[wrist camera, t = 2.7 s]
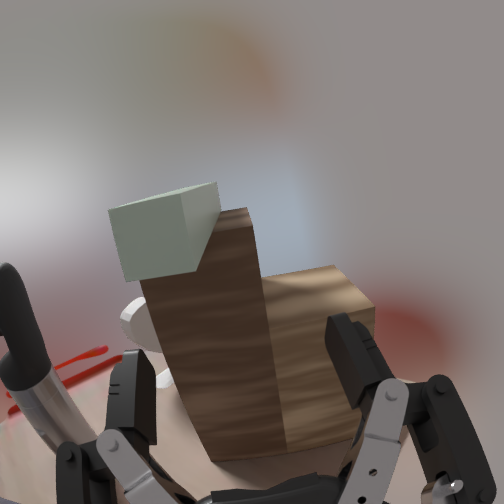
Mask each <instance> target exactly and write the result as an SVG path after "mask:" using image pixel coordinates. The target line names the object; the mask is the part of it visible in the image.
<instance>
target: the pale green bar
mask: <svg viewBox="0 0 504 504" xmlns="http://www.w3.org/2000/svg"><path fill="white" fill-rule="evenodd" d="M108 212H109V217H110V221H111V226H112V230H113V235H114V239H115V243H116V246H117V251H118V255H119V259H120V262H121V266H122V270H123V273H124V277H125V280H126V282H131V281H137V280H144V279H150V278H157V277H163V276H169V275H175V274H182V273H188V272H194V271H196V270H197V267H198V265H199V262H200V260H201V257H202V255H203V253H204V250H205V248H206V245H207V243H208V240H209V238H210V236H211V233H212V231H213V228H214V226H215V224H216V221H217V219H218V217H219V214H220V212H221V205H220V199H219V194H218V188H217V182H211V183H206V184H201V185H196V186H191V187H186V188H182V189H178V190H174V191H171V192H167V193H163V194H160V195H156V196H152V197H149V198H146V199H142V200H138V201H135V202H132V203H128V204H125V205H122V206H118V207H115V208H112V209H109V210H108Z"/></svg>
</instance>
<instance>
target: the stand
mask: <svg viewBox="0 0 504 504" xmlns="http://www.w3.org/2000/svg"><path fill="white" fill-rule="evenodd" d="M139 281H140V284H141V288H142V291H143V294H144V298H145V301H146V304H147V307H148V311H149V314H150V317H151V320H152V323H153V326H154V329H155V332H156V335H157V338H158V340H159V343H160V346H161V349H162V352H163V354H164V357H165V360H166V362H167V365H168V367H169V370H170V373H171V375H172V378H173V380H174V382H175V385H176V387H177V390H178V392H179V395H180V397H181V399H182V401H183V404H184V406H185V408H186V411H187V413H188V415H189V417H190V419H191V422H192V424H193V426H194V428H195V430H196V432H197V434H198V436H199V438H200V440H201V442H202V444H203V446H204V448H205V450H206V452H207V454H208V456H209V458H210V460H211V462H216V461H231V460H242V459H252V458H260V457H267V456H274V455H281V454H287V453H292V452H297V451H302V450H307V449H312V448H316V447H321V446H325V445H329V444H333V443H337V442H341V441H344V440H348V439H351V438H353V437H354V434H355V431H356V429H357V426H358V423H359V420H360V417H361V414H362V413H361V410H360V408H356V409H354V410H352V409H351V406H350V404H349V401H348V399H347V397H346V394H345V392H344V389H343V387H342V385H341V382H340V380H339V377H338V375H337V373H336V370H335V368H334V366H333V363H332V361H331V359H330V356H329V354H328V352H327V349H326V346H325V339H324V337H325V331H326V324H327V318H328V316H330V315H334V314H338V313H342V312H346V313H347V315H348V316H349V318H350V320H351V322H356V321H359V322H360V323H362V324H363V325H364V326H365V327H366V328H367V329H368V330H369V332H370V334H371V336H372V337H373V340H374V324H375V306H374V305H373V304H372V303H371V302H370V301H369V300H368V299H367V298H366V296H365V295H364V294H362V293H361V291H360V290H358V289H357V287H356V286H354V284H353V283H351V282H350V280H349V279H347V278H346V277H345V276H344V275H343V274H342V273H341V272H340V271H339V270H338V269H337V268H336V267H335V266H334V265H330V266H325V267H320V268H314V269H308V270H303V271H297V272H292V273H286V274H280V275H274V276H268V277H262V278H261V275H260V268H259V262H258V255H257V249H256V242H255V236H254V230H253V225H252V222H251V218H250V216H249V212H248V210H247V207H246V208H239V209H233V210H228V211H222V212H220V214H219V217H218V219H217V221H216V224H215V226H214V228H213V231H212V233H211V236H210V238H209V240H208V243H207V245H206V248H205V250H204V253H203V255H202V257H201V260H200V262H199V265H198V267H197V270H196V271H194V272H188V273H182V274H175V275H169V276H163V277H157V278H150V279H144V280H139Z"/></svg>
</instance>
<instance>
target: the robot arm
mask: <svg viewBox="0 0 504 504" xmlns="http://www.w3.org/2000/svg"><path fill="white" fill-rule="evenodd" d="M0 336H4V338H5V340H6V343H7V346H8V348H9V352H7V353H6V354H5V355H4V357H3V358H2V359H1V361H0V378H1V380H2V382H3V383H4V385H5V387H6V388H7V390H8V391H9V393H10V394H11V396H12V398H13V399H14V401H15V402H16V404H17V405H18V407H19V408H20V410H21V411H22V413H23V414H24V415H25V417H26V418H27V420H28V421H29V422H30V424H31V425H32V426H33V428H34V429H35V430H36V432H37V433H38V434H39V436H40V437H41V438H42V439H43V441H44V442H45V443H46V444H47V446H48V447H49V448H50V449H51V450H52V451H53V452H54V454H55V455H56V495H57V504H117V498H116V489H115V478H116V479H117V480H118V481H119V483H120V484H121V485H122V487H123V488H124V490H125V492H124V495H125V497H126V499H127V500H128V501H129V503H130V504H389V503H387V502H385V501H383V500H384V497H385V494H386V492H387V489H388V486H389V484H390V480H391V478H392V475H393V472H394V469H395V466H396V462H397V459H398V456H399V452H400V448H401V443H400V442H399V436H400V432H401V429H402V425H407V427H408V430H409V432H410V435H411V437H412V440H413V443H414V446H415V448H416V451H417V454H418V456H419V459H420V462H421V465H422V468H423V471H424V474H425V477H426V480H427V483H428V484H427V485H426V486H425V487H424V489H423V491H422V493H421V504H492V503H493V501H494V499H495V497H496V485H495V482H494V479H493V476H492V473H491V470H490V467H489V464H488V462H487V459H486V456H485V454H484V451H483V449H482V446H481V444H480V441H479V439H478V436H477V434H476V432H475V429H474V427H473V425H472V423H471V420H470V418H469V416H468V413H467V411H466V409H465V407H464V405H463V403H462V401H461V399H460V397H459V395H458V393H457V391H456V389H455V387H454V385H453V383H452V381H451V380H450V379H449V378H448V377H446V376H444V375H434V376H432V377H431V378H430V379H429V380H428V381H427V382H421V383H404V382H402V381H401V380H398V379H397V378H395V377H394V375H393V374H392V372H391V370H390V369H389V367H388V365H387V363H386V361H385V359H384V357H383V356H382V354H381V352H380V350H379V348H378V347H377V345H376V343H375V341H374V340H373V337H372V336H371V334H370V332H369V330H368V329H367V328H366V327H365V326H364V325H363V324H362V323H360V322H359V321H356V322H351V320H350V318H349V316H348V315H347V313H346V312H342V313H338V314H334V315H330V316H328V318H327V324H326V331H325V337H324V339H325V346H326V349H327V352H328V354H329V356H330V359H331V361H332V363H333V366H334V368H335V370H336V373H337V375H338V377H339V380H340V382H341V385H342V387H343V389H344V392H345V394H346V397H347V399H348V401H349V404H350V406H351V409H352V410H354V409H356V408H360V410H361V413H362V414H361V417H360V420H359V423H358V426H357V429H356V431H355V434H354V437H353V440H352V442H351V445H350V448H349V450H348V452H347V454H346V456H345V458H344V460H343V462H342V464H341V467H340V469H339V471H338V474H337V476H336V477H334V476H328V475H317V472H315V473H312V474H308V475H304V476H300V477H296V478H292V479H289V480H287V481H285V482H283V483H281V484H279V485H277V486H274V487H272V488H270V489H268V490H246V489H230V490H221V491H211V495H209V496H207V497H204V498H202V499H201V500H199V501H197V500H196V499H195V498H194V497H193V496H192V495H191V494H190V493H189V492H187V491H186V490H185V489H184V488H183V487H181V486H180V485H179V484H178V483H176V482H175V481H174V480H173V479H172V478H171V477H170V476H169V474H168V473H167V472H166V471H165V470H164V469H163V468H162V467H161V466H160V465H159V463H158V462H157V461H156V460H155V459H154V458H153V457H152V455H151V454H150V453H149V445H157V432H156V374H155V370H154V368H153V366H152V364H151V363H150V361H149V360H148V358H147V357H146V355H145V353H144V352H143V350H141V349H135V350H126V351H124V353H123V359H122V363H117V364H116V365H115V367H114V369H113V370H112V372H111V376H110V384H109V385H110V387H109V395H108V403H107V414H106V426H105V430H104V431H103V432H102V433H101V434H100V435H99V436H98V437H97V435H96V434H95V432H94V431H93V429H92V428H91V427H90V425H89V424H88V423H87V421H86V420H85V418H84V417H83V415H82V414H81V412H80V411H79V409H78V408H77V406H76V405H75V403H74V401H73V400H72V398H71V397H70V395H69V393H68V392H67V390H66V388H65V386H64V385H63V383H62V381H61V380H60V378H59V376H58V374H57V372H56V370H55V369H54V367H53V365H52V363H51V361H50V359H49V357H48V354H47V351H46V348H45V344H44V341H43V337H42V335H41V332H40V329H39V327H38V325H37V322H36V319H35V316H34V313H33V310H32V307H31V304H30V301H29V298H28V295H27V291H26V289H25V286H24V283H23V281H22V279H21V277H20V275H19V273H18V272H17V270H16V269H15V268H14V267H13V266H12V265H11V264H9V263H0Z"/></svg>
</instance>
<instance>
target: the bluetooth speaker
mask: <svg viewBox="0 0 504 504" xmlns="http://www.w3.org/2000/svg"><path fill="white" fill-rule="evenodd" d="M0 504H19V503H16V502H13V501H10V500H7V499H4V498H1V497H0Z"/></svg>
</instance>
